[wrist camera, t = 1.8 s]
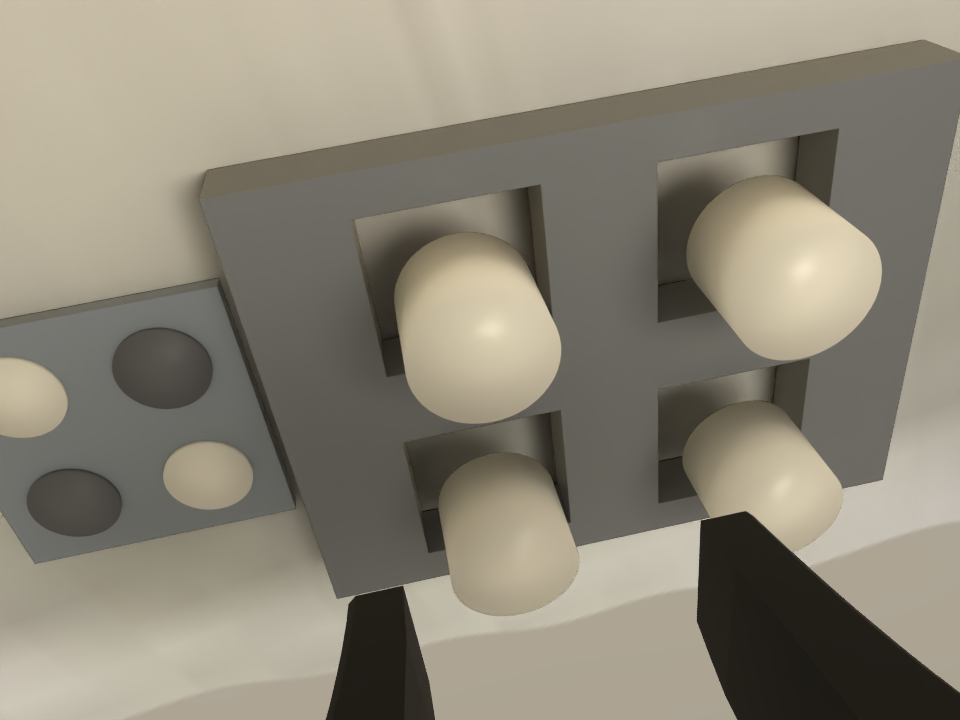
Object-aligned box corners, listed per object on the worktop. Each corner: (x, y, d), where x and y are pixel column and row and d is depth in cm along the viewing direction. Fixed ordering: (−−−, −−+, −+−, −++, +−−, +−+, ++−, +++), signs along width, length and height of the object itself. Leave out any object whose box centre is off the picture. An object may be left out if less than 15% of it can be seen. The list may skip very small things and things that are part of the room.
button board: (924, 39, 18) (971, 57, 17) (853, 444, 25) (882, 479, 24) (207, 170, 17) (198, 199, 16) (335, 556, 24) (336, 598, 23)
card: (218, 278, 19) (216, 290, 18) (296, 498, 23) (296, 512, 22) (-97, 338, 18) (-107, 352, 18) (39, 552, 22) (33, 568, 22)
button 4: (824, 163, 17) (893, 211, 15) (810, 286, 19) (869, 344, 17) (687, 189, 17) (738, 241, 15) (684, 311, 19) (730, 373, 17)
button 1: (549, 441, 20) (575, 512, 18) (557, 526, 22) (582, 600, 20) (429, 466, 20) (442, 541, 18) (447, 550, 22) (461, 627, 20)
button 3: (797, 389, 21) (850, 453, 19) (787, 477, 22) (835, 544, 20) (683, 413, 21) (723, 481, 18) (681, 500, 22) (718, 570, 20)
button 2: (525, 219, 17) (555, 276, 15) (538, 340, 19) (566, 406, 17) (381, 247, 17) (391, 308, 15) (407, 367, 18) (419, 437, 16)
